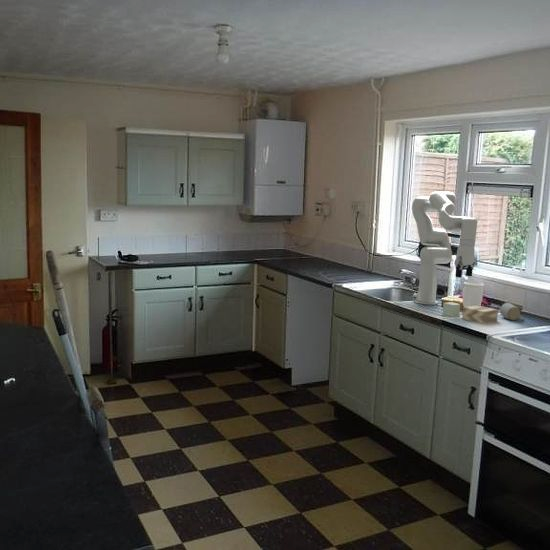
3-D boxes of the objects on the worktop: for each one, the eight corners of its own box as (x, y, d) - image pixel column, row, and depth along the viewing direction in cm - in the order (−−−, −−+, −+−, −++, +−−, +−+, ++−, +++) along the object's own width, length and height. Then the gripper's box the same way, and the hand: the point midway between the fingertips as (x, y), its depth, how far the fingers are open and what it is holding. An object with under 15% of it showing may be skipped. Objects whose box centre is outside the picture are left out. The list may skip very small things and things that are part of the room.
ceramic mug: (507, 320, 312) (509, 305, 311) (498, 317, 320) (500, 302, 319) (526, 321, 314) (528, 306, 313) (517, 317, 322) (519, 303, 321)
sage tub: (442, 314, 319) (443, 302, 318) (449, 313, 323) (450, 302, 322) (452, 316, 314) (453, 305, 314) (459, 315, 318) (460, 304, 317)
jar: (480, 313, 326) (484, 285, 323) (460, 311, 329) (463, 283, 327) (481, 310, 336) (484, 282, 333) (461, 307, 339) (464, 280, 337)
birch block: (462, 319, 311) (463, 307, 311) (475, 316, 319) (476, 305, 318) (483, 324, 302) (484, 312, 302) (496, 321, 310) (498, 309, 309)
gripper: (469, 241, 321) (466, 274, 323) (451, 242, 309) (447, 276, 312) (482, 243, 315) (479, 276, 318) (464, 244, 303) (461, 278, 306)
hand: (463, 276), depth 315 cm, fingers open, 9 cm apart
